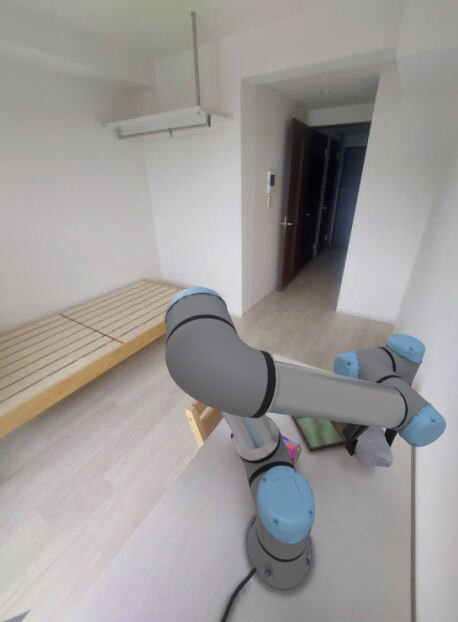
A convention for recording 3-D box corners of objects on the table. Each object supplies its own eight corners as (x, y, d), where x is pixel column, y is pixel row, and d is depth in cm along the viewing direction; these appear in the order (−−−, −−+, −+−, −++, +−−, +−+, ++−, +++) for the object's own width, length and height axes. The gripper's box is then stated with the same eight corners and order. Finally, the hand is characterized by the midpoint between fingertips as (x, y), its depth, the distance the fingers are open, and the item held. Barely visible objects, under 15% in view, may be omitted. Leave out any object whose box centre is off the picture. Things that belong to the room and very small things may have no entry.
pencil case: (228, 443, 90) (228, 425, 86) (244, 424, 96) (244, 406, 92) (289, 482, 79) (292, 463, 74) (301, 456, 85) (305, 438, 81)
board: (310, 452, 87) (310, 448, 86) (282, 397, 107) (282, 394, 107) (375, 437, 91) (376, 434, 90) (336, 387, 112) (337, 384, 111)
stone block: (354, 467, 74) (394, 469, 72) (354, 455, 72) (395, 457, 70) (345, 432, 85) (381, 433, 82) (345, 421, 83) (381, 421, 80)
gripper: (355, 411, 62) (337, 468, 72) (441, 394, 66) (413, 451, 77) (337, 387, 68) (323, 443, 79) (416, 374, 73) (393, 429, 83)
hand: (367, 447), depth 78 cm, fingers closed on stone block, 11 cm apart
